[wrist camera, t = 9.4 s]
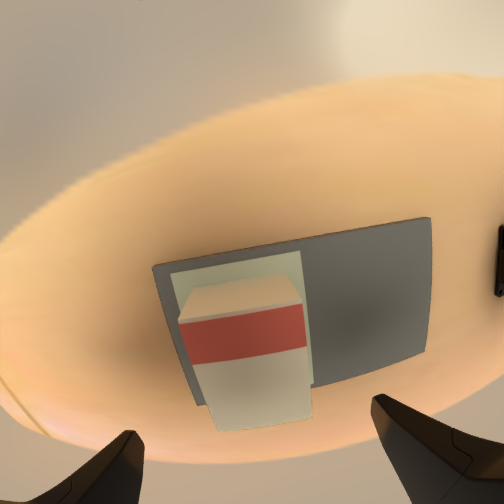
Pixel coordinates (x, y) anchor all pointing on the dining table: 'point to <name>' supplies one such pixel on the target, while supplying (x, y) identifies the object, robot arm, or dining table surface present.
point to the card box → (249, 351)
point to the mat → (328, 294)
